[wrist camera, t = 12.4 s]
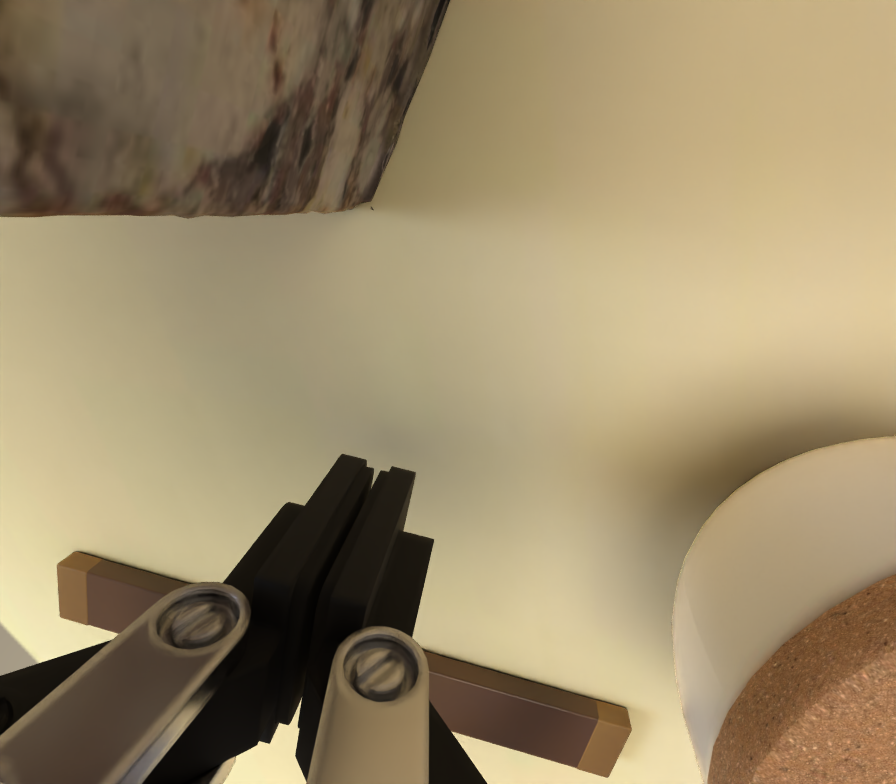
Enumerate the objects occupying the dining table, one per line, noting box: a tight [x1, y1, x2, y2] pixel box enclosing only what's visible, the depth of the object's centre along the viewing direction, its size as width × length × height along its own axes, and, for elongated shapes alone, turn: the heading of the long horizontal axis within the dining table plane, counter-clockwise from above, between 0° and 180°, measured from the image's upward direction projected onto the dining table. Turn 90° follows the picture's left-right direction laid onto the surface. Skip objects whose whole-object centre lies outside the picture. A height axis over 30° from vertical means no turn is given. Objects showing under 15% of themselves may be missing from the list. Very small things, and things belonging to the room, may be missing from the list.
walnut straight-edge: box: [57, 552, 632, 778], centre depth 18 cm, size 21×2×1 cm, turn 77°
